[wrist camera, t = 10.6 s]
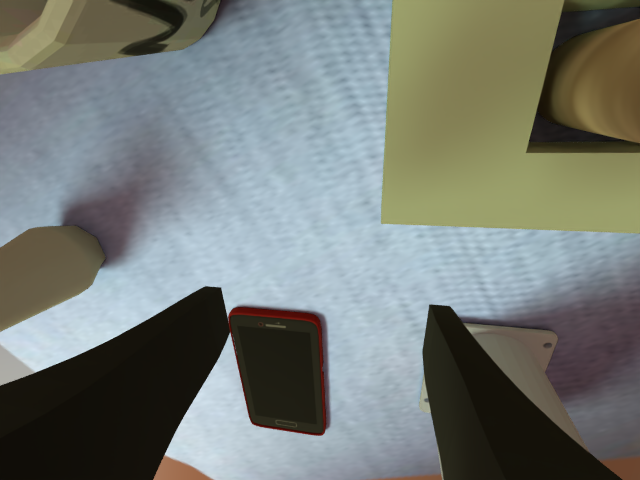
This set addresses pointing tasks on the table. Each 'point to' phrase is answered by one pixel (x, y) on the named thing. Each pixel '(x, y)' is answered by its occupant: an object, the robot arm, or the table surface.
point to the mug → (96, 30)
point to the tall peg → (596, 82)
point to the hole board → (492, 125)
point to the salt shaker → (45, 270)
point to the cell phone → (280, 368)
